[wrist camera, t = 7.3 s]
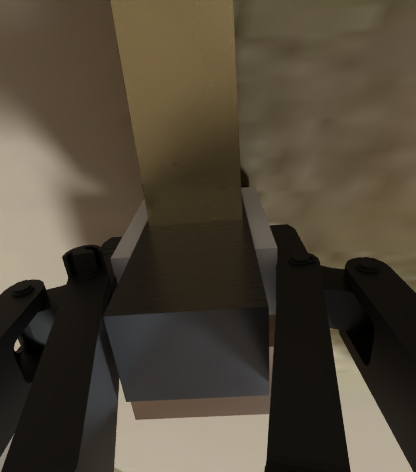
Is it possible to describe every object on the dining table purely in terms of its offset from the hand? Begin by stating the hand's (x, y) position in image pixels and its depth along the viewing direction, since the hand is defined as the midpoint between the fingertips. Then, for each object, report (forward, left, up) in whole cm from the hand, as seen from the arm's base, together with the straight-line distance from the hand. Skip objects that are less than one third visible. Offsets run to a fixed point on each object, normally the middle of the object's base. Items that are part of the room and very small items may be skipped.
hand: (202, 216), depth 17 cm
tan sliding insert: (-2, -3, +1) cm, 4 cm away
